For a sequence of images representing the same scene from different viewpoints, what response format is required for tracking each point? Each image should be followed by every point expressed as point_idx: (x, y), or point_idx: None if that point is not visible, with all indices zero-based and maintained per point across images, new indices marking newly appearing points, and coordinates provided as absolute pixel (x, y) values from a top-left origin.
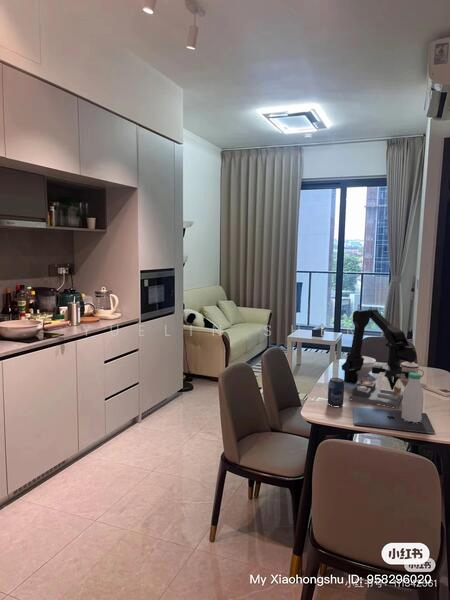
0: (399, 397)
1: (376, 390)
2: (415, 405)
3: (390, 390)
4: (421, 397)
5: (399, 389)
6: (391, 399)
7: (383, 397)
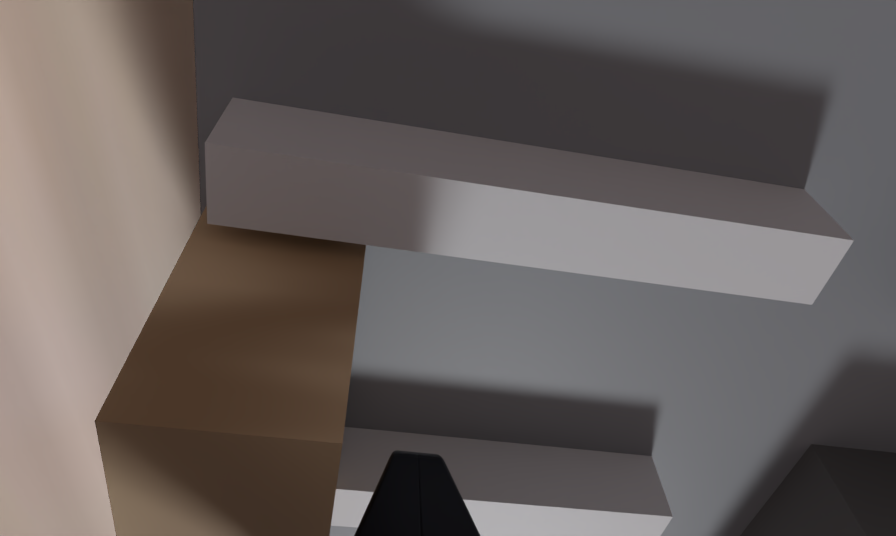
0: None
1: (705, 507)
2: None
3: None
4: None
5: (101, 408)
6: (421, 47)
7: (649, 141)
